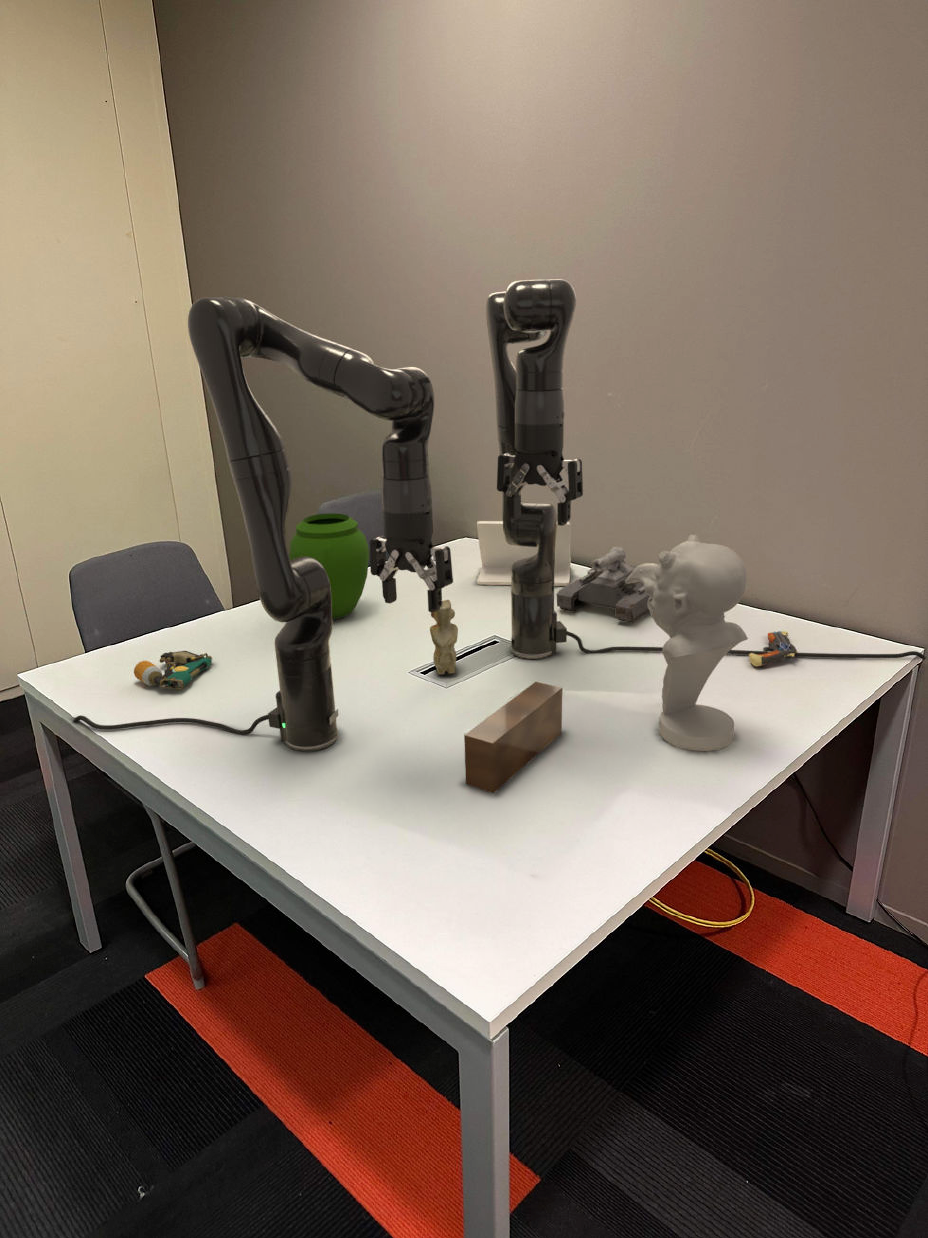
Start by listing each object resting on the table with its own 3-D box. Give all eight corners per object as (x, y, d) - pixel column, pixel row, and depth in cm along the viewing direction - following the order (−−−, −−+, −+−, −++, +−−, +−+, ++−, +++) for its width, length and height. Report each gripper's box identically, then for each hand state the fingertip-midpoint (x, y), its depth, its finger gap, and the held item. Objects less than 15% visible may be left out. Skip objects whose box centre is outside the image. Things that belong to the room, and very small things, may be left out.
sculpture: (458, 662, 183) (456, 596, 178) (460, 676, 176) (457, 608, 171) (431, 663, 183) (428, 597, 177) (431, 677, 176) (428, 609, 171)
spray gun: (177, 659, 191) (231, 671, 185) (120, 684, 176) (176, 698, 171) (176, 641, 190) (230, 653, 184) (118, 665, 175) (174, 678, 169)
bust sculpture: (666, 688, 168) (677, 514, 156) (759, 738, 148) (779, 544, 136) (600, 707, 161) (606, 527, 149) (688, 763, 141) (703, 560, 129)
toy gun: (751, 657, 175) (803, 654, 173) (740, 630, 193) (787, 626, 191) (752, 670, 176) (803, 667, 174) (741, 641, 194) (787, 638, 192)
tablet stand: (569, 585, 229) (570, 524, 223) (476, 584, 232) (475, 523, 226) (570, 566, 246) (571, 508, 240) (484, 564, 249) (483, 507, 243)
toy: (603, 584, 229) (605, 530, 224) (673, 597, 218) (677, 540, 213) (555, 612, 210) (556, 553, 205) (630, 627, 199) (633, 566, 194)
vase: (389, 608, 216) (383, 514, 208) (339, 633, 201) (330, 533, 192) (330, 596, 226) (322, 506, 218) (278, 619, 211) (267, 523, 202)
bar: (535, 725, 156) (535, 681, 152) (561, 733, 153) (562, 687, 150) (465, 784, 138) (464, 735, 134) (493, 793, 135) (492, 743, 132)
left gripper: (354, 505, 130) (362, 606, 135) (431, 516, 122) (435, 621, 128) (385, 496, 135) (391, 592, 141) (460, 505, 128) (463, 606, 134)
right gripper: (487, 419, 132) (489, 521, 138) (569, 424, 125) (567, 532, 131) (511, 413, 138) (512, 511, 144) (591, 418, 131) (589, 521, 136)
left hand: (412, 606), depth 135 cm, fingers open, 8 cm apart
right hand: (538, 521), depth 137 cm, fingers open, 8 cm apart
